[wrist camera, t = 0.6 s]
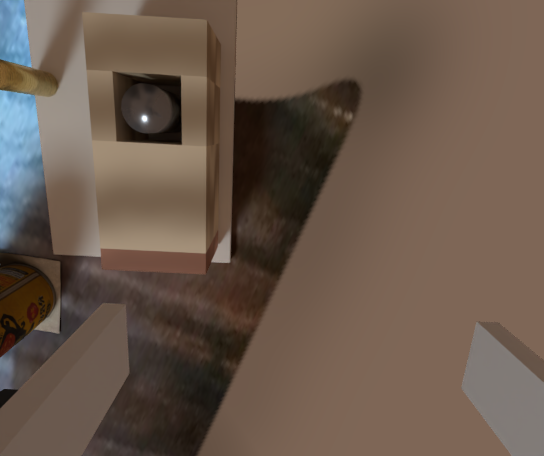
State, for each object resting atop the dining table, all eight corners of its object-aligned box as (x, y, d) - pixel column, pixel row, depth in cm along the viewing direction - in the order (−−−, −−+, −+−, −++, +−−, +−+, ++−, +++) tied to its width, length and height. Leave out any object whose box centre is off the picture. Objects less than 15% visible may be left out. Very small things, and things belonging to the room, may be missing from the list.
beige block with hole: (124, 38, 26) (81, 11, 20) (220, 44, 26) (206, 19, 20) (134, 242, 30) (102, 269, 24) (218, 246, 30) (205, 274, 24)
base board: (26, -42, 25) (18, -48, 24) (237, -28, 26) (236, -33, 25) (58, 251, 31) (53, 254, 30) (230, 259, 31) (229, 262, 31)
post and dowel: (39, 72, 27) (-45, 51, 20) (194, 81, 27) (168, 63, 20) (44, 125, 28) (-33, 123, 21) (195, 133, 28) (169, 134, 21)
